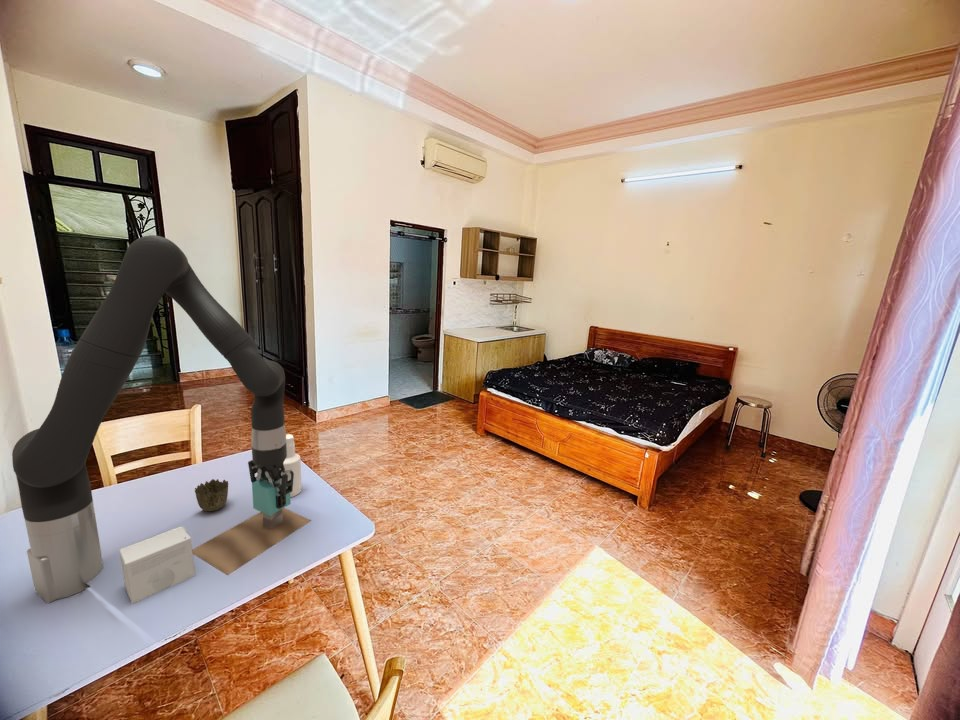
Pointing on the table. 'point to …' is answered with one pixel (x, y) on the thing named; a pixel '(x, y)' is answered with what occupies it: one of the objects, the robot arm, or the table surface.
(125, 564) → the skincare box
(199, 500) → the bronze textured bowl
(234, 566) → the board
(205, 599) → the table surface
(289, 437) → the spray bottle
